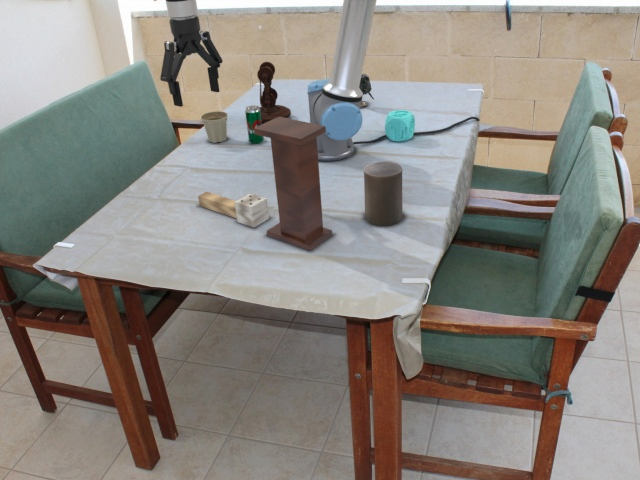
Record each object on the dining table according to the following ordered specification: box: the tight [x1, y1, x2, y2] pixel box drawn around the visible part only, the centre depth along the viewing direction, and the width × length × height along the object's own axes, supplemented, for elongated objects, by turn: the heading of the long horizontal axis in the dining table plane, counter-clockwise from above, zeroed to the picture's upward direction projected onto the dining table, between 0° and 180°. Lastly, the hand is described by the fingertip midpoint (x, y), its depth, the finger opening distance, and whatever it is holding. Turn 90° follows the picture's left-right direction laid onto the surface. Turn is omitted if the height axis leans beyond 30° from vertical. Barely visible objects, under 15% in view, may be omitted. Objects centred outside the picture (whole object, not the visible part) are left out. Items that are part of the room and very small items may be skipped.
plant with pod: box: [359, 73, 375, 108], centre depth 239 cm, size 8×11×20 cm
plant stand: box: [254, 117, 333, 252], centre depth 155 cm, size 14×9×28 cm, turn 52°
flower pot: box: [199, 110, 229, 144], centre depth 221 cm, size 9×9×9 cm
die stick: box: [197, 191, 270, 229], centre depth 174 cm, size 22×6×6 cm, turn 52°
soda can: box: [244, 104, 265, 145], centre depth 216 cm, size 5×5×12 cm
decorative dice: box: [384, 109, 416, 142], centre depth 212 cm, size 8×8×8 cm
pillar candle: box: [363, 161, 404, 227], centre depth 164 cm, size 10×10×15 cm
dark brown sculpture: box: [256, 61, 292, 123], centre depth 233 cm, size 15×15×20 cm
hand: (197, 98), depth 176 cm, fingers open, 13 cm apart
